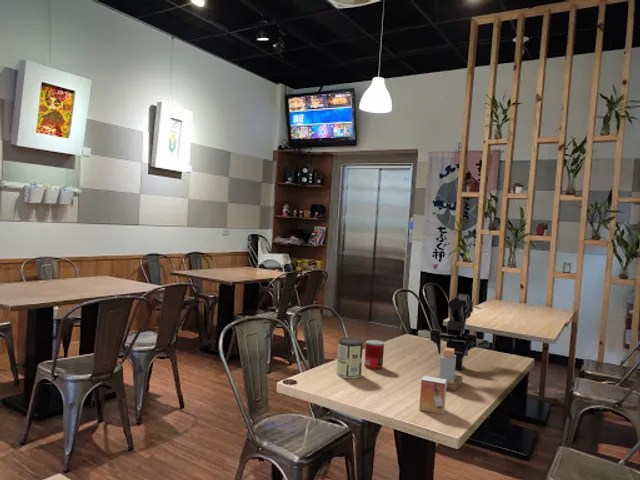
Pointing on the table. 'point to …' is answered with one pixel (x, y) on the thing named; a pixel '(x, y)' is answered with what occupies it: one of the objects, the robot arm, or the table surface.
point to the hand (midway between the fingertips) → (450, 355)
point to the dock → (456, 383)
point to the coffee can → (349, 357)
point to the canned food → (374, 354)
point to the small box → (433, 395)
